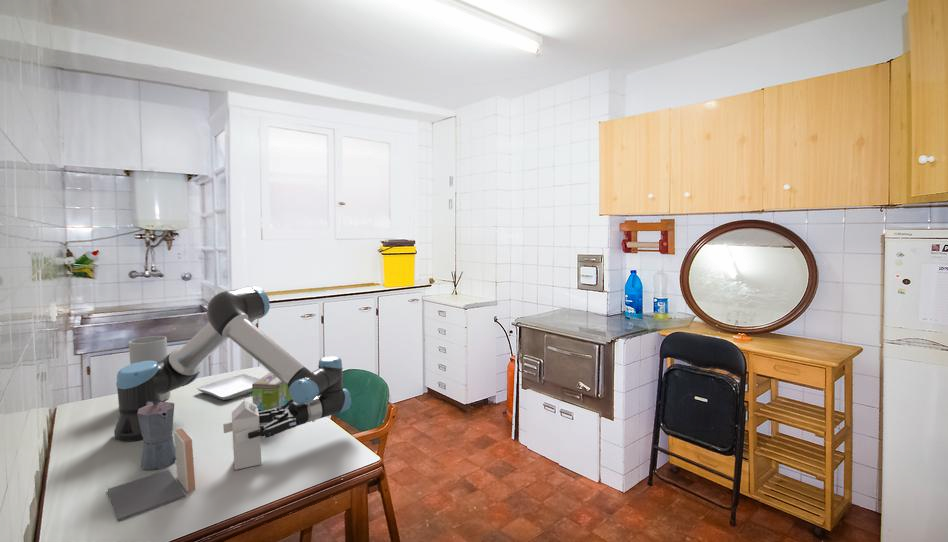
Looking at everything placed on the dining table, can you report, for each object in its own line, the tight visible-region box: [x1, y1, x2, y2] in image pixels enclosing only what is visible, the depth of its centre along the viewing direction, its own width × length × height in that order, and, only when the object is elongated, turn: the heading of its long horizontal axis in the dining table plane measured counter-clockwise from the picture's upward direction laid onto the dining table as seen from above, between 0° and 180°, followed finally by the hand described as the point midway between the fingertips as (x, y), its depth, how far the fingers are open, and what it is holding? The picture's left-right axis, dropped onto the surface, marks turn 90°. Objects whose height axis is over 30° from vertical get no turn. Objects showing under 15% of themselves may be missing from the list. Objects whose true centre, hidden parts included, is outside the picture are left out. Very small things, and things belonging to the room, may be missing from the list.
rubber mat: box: [106, 469, 186, 522], centre depth 123 cm, size 18×14×1 cm
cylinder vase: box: [128, 335, 171, 402], centre depth 188 cm, size 12×12×25 cm
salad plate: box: [196, 373, 261, 401], centre depth 199 cm, size 21×21×3 cm
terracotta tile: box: [173, 427, 196, 493], centre depth 127 cm, size 10×2×14 cm, turn 45°
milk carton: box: [231, 397, 262, 471], centre depth 138 cm, size 7×7×19 cm
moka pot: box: [137, 399, 176, 471], centre depth 138 cm, size 10×15×20 cm, turn 58°
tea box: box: [251, 371, 294, 424], centre depth 173 cm, size 15×10×15 cm
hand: (229, 433), depth 135 cm, fingers closed on milk carton, 9 cm apart
